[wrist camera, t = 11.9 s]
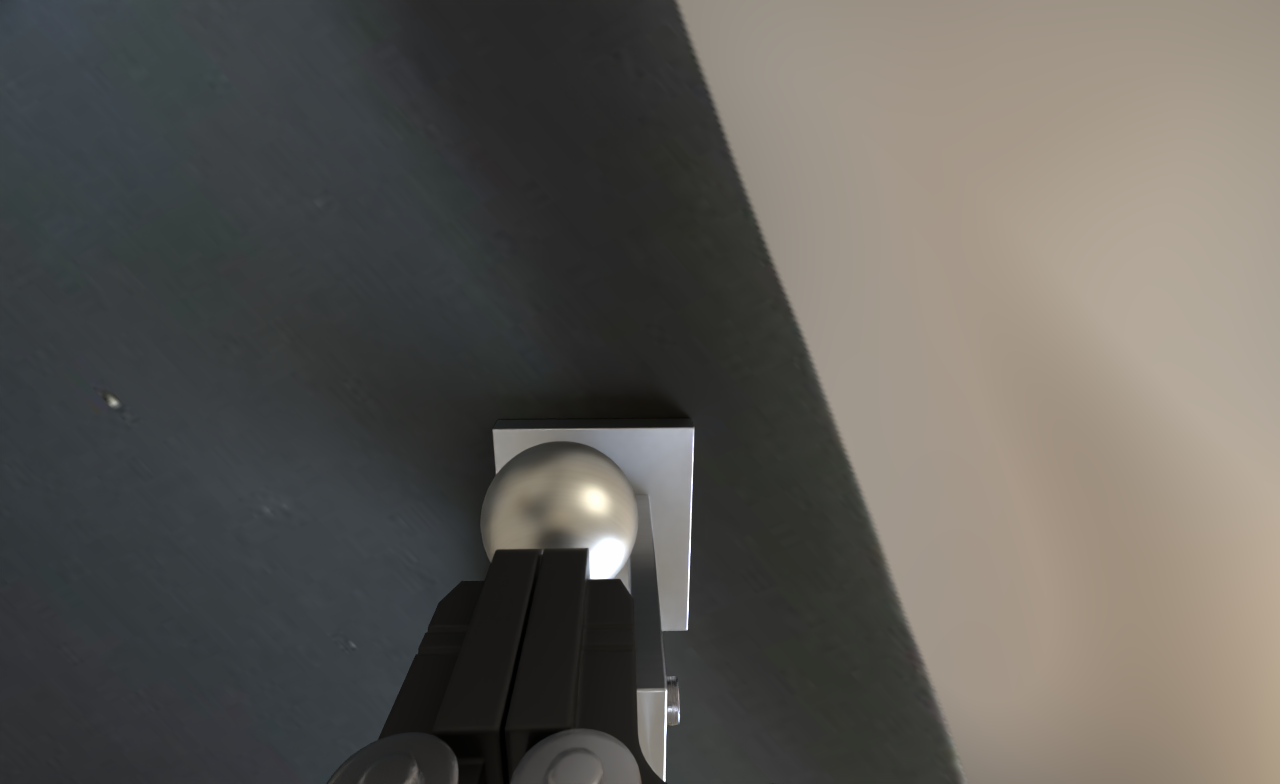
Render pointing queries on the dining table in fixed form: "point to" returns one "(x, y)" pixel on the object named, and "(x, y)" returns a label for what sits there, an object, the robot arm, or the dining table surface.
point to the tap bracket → (639, 542)
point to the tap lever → (562, 505)
